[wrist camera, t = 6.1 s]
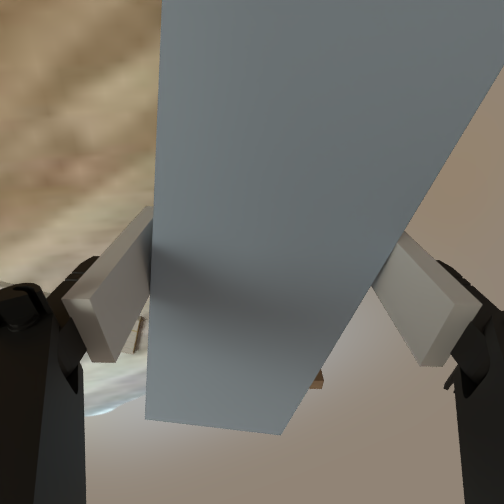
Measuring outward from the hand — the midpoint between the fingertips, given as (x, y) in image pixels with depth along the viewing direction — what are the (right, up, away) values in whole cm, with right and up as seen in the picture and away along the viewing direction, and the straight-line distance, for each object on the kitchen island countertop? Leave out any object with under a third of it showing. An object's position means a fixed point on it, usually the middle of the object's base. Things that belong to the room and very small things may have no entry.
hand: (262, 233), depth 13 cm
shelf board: (0, +1, +1) cm, 1 cm away
